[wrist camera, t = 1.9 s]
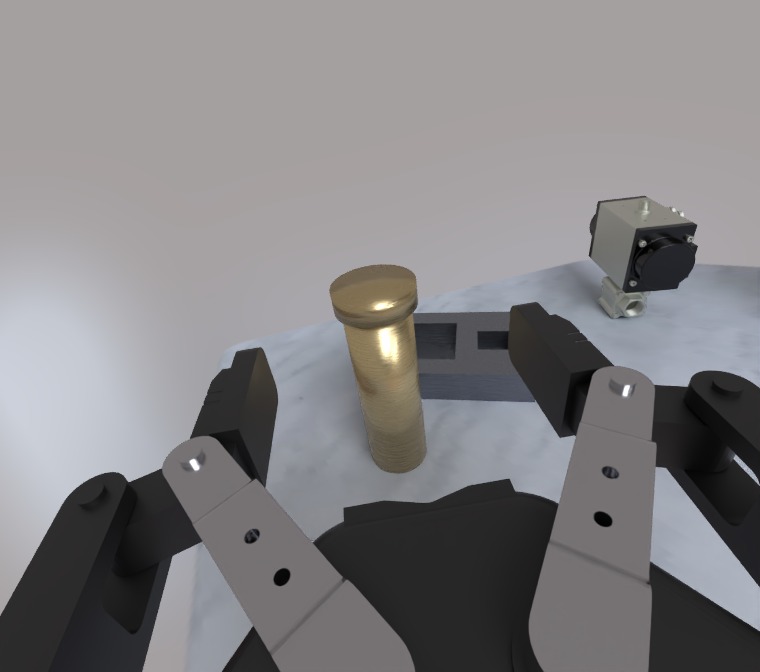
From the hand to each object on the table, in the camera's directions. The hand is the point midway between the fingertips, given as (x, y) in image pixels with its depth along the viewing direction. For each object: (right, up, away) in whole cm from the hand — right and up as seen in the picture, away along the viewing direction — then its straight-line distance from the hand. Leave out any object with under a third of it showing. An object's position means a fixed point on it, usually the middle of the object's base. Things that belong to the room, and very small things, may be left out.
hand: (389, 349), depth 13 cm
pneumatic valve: (+27, +3, +31) cm, 41 cm away
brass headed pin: (+1, -9, +19) cm, 21 cm away
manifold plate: (+7, -2, +27) cm, 28 cm away
